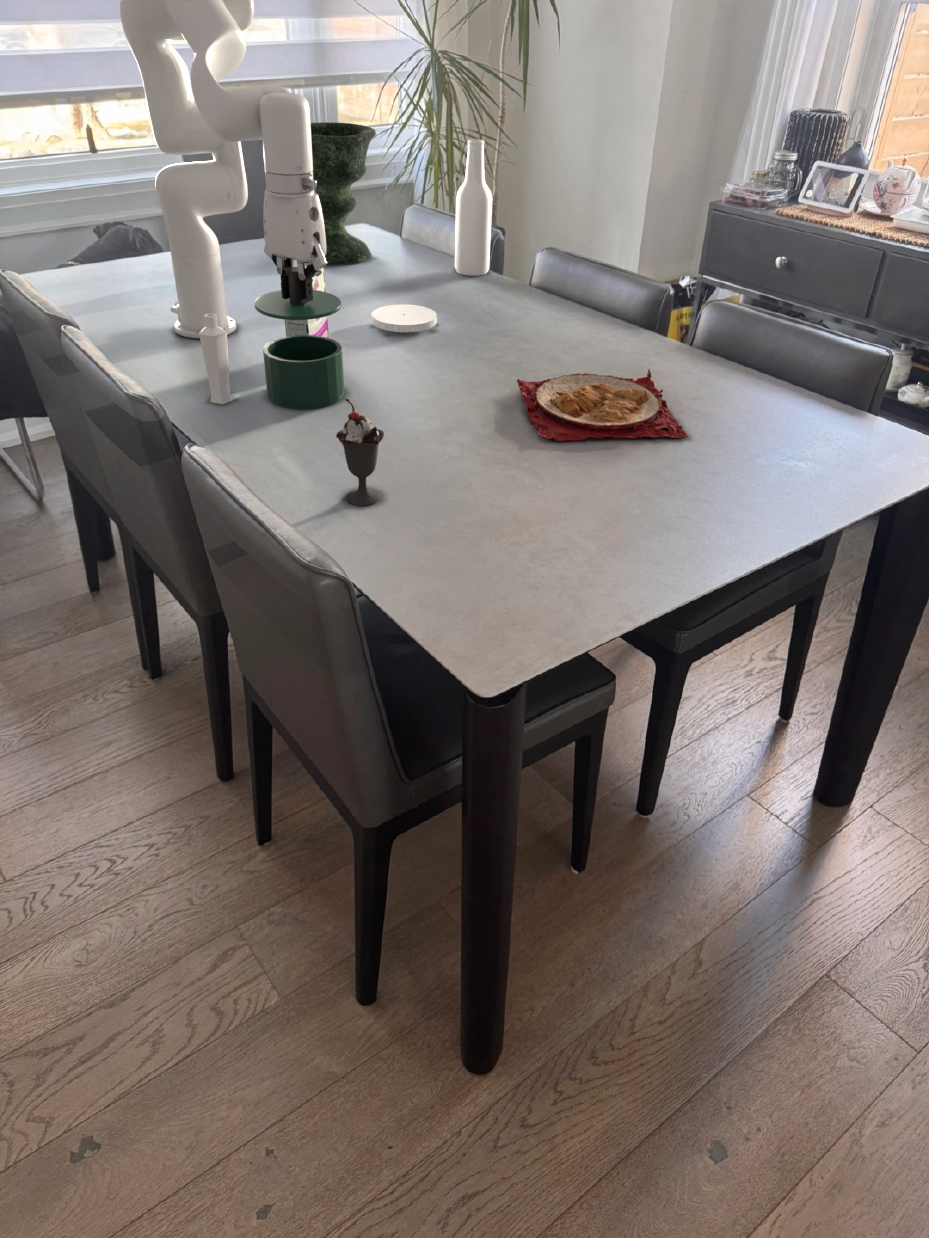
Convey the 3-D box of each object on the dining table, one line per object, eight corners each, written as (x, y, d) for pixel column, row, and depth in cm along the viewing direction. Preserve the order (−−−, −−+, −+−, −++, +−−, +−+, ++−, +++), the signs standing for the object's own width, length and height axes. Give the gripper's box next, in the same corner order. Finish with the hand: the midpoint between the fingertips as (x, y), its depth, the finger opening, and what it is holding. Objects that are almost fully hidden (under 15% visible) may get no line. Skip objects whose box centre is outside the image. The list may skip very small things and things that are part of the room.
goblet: (342, 273, 229) (335, 139, 212) (274, 257, 239) (263, 128, 221) (394, 255, 244) (392, 128, 227) (329, 241, 254) (322, 119, 236)
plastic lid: (398, 341, 190) (398, 329, 188) (358, 324, 198) (358, 312, 197) (449, 328, 198) (450, 316, 196) (409, 312, 206) (409, 300, 204)
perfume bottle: (239, 397, 164) (229, 313, 155) (226, 406, 161) (215, 320, 152) (217, 393, 165) (206, 309, 157) (204, 402, 162) (191, 317, 153)
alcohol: (457, 265, 238) (460, 136, 220) (491, 268, 237) (496, 138, 219) (452, 275, 231) (454, 142, 213) (486, 277, 230) (492, 144, 212)
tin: (254, 402, 163) (248, 355, 158) (290, 375, 173) (286, 331, 168) (323, 414, 159) (320, 366, 154) (356, 386, 170) (354, 341, 165)
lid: (239, 315, 154) (234, 275, 150) (281, 291, 165) (278, 252, 161) (317, 329, 150) (315, 287, 146) (355, 303, 161) (353, 264, 157)
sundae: (340, 487, 138) (335, 392, 129) (385, 487, 138) (382, 392, 129) (339, 509, 132) (333, 411, 124) (385, 508, 133) (383, 411, 124)
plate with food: (515, 388, 172) (516, 371, 170) (649, 383, 174) (651, 365, 172) (538, 445, 153) (539, 426, 151) (688, 438, 155) (691, 419, 153)
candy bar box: (306, 349, 185) (300, 265, 175) (330, 352, 184) (325, 267, 174) (287, 369, 176) (279, 281, 166) (312, 372, 175) (305, 284, 165)
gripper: (344, 187, 145) (348, 304, 156) (269, 171, 152) (278, 284, 163) (312, 195, 139) (319, 315, 151) (235, 178, 147) (247, 294, 158)
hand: (297, 298), depth 156 cm, fingers closed on lid, 2 cm apart
